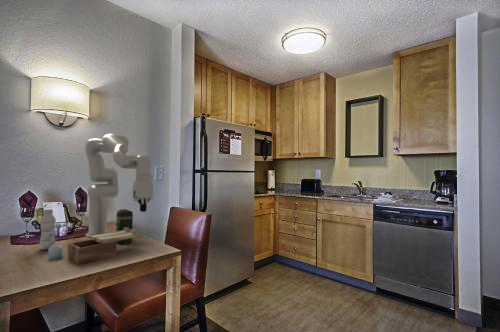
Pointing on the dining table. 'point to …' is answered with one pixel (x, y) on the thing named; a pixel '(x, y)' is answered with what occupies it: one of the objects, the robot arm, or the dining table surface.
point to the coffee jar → (124, 223)
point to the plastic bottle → (47, 230)
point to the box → (90, 251)
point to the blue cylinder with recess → (55, 252)
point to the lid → (115, 236)
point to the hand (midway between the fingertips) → (143, 211)
